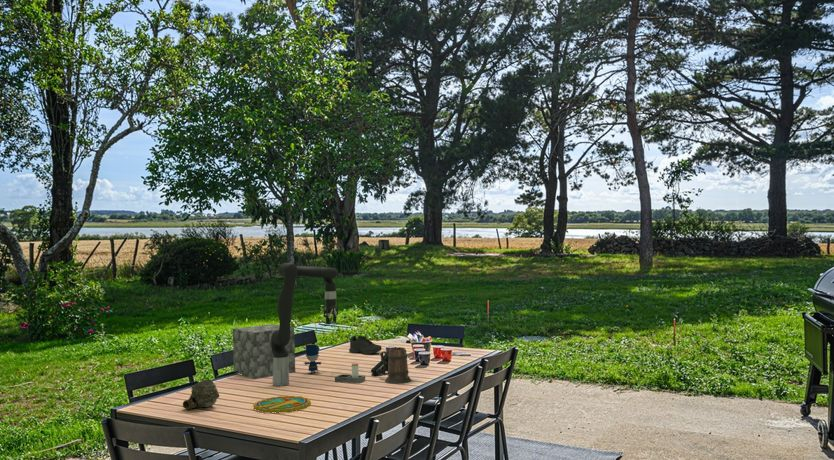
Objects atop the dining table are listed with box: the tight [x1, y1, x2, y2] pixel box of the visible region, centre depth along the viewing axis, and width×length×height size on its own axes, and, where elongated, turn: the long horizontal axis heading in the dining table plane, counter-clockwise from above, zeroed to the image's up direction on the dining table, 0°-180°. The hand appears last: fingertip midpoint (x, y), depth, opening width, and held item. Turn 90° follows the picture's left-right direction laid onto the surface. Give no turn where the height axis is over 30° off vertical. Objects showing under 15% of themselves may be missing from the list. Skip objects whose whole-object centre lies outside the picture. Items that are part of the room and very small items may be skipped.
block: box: [232, 323, 296, 380], centre depth 445 cm, size 30×30×30 cm
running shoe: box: [348, 335, 382, 355], centre depth 509 cm, size 11×30×14 cm, turn 59°
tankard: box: [377, 346, 413, 385], centre depth 409 cm, size 24×17×20 cm
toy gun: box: [370, 350, 389, 377], centre depth 430 cm, size 22×5×15 cm
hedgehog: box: [182, 378, 220, 411], centre depth 353 cm, size 18×14×15 cm
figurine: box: [303, 343, 323, 374], centre depth 438 cm, size 13×9×20 cm
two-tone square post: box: [351, 362, 360, 378], centre depth 408 cm, size 4×4×11 cm
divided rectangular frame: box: [334, 373, 366, 384], centre depth 410 cm, size 8×17×3 cm, turn 66°
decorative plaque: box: [252, 395, 311, 414], centre depth 352 cm, size 30×3×30 cm
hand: (331, 322), depth 431 cm, fingers open, 8 cm apart
